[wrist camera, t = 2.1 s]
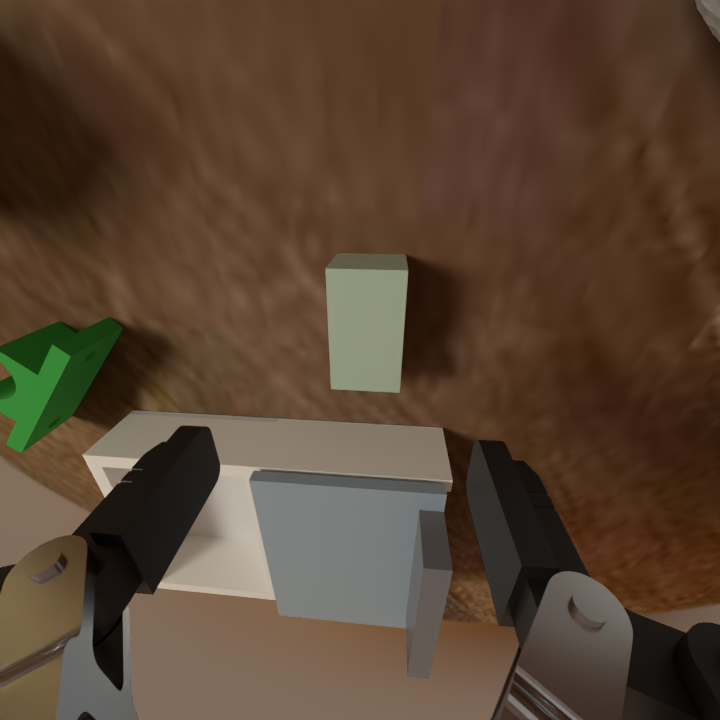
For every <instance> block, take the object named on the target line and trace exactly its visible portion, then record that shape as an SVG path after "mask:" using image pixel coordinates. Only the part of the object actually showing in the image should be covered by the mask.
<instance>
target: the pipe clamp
mask: <svg viewBox="0 0 720 720" xmlns="http://www.w3.org/2000/svg"><path fill="white" fill-rule="evenodd" d="M122 330H123V327H122V326H121V325H119V324H118V323H116V322H115V321H113V320H112V319H111V318H109V317H108V318H106V319H104V320H102V321H100V322H98V323H96V324H94V325H92V326H89V327H87V328H85V329H83V330H81V331H79V332H77V333H76V332H74V331H73V330H71V329H70V328H68V327H67V326H65V325H64V324H62V323H61V322H56V323H54V324H52V325H49V326H47V327H44V328H42V329H40V330H37V331H35V332H33V333H30V334H28V335H25V336H23V337H21V338H18V339H16V340H13V341H11V342H9V343H6V344H4V345H2V346H0V363H2V364H3V365H4V366H5V367H6V368H7V370H8V371H9V372H10V374H11V375H12V376H10V377H8V378H6V379H4V380H2V381H0V412H1V413H2V414H4V415H6V416H8V417H9V418H11V419H13V420H15V421H16V424H15V426H14V428H13V430H12V432H11V434H10V437H9V439H8V441H7V443H6V445H8V446H10V447H12V448H13V449H15V450H17V451H19V452H21V453H22V452H24V451H25V450H26V449H28V448H29V447H30V446H32V445H33V444H35V443H36V442H37V441H39V440H40V439H41V438H43V437H44V436H46V435H47V434H48V433H50V432H51V431H52V430H54V429H55V428H57V427H58V426H59V425H61V424H62V423H63V422H65V421H66V420H67V419H69V418H70V417H72V416H73V414H74V412H75V411H76V409H77V407H78V405H79V404H80V402H81V400H82V398H83V397H84V395H85V393H86V392H87V390H88V388H89V386H90V385H91V383H92V381H93V380H94V378H95V376H96V374H97V373H98V371H99V369H100V368H101V366H102V364H103V362H104V361H105V359H106V357H107V356H108V354H109V352H110V350H111V349H112V347H113V345H114V344H115V342H116V340H117V338H118V337H119V335H120V333H121V332H122Z"/></svg>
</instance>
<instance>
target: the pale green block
mask: <svg viewBox="0 0 720 720" xmlns="http://www.w3.org/2000/svg"><path fill="white" fill-rule="evenodd" d="M407 282H408V265H407V258H406V255H396V254H346V253H337V255H336V256H335V257H334V258H333V260H332V261H331V262H330V264H329V265H328V266H327V267H326V289H327V311H328V332H329V354H330V375H331V389H340V390H358V391H377V392H395V393H400V381H401V367H402V352H403V338H404V324H405V310H406V296H407Z"/></svg>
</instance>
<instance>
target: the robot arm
mask: <svg viewBox="0 0 720 720" xmlns="http://www.w3.org/2000/svg"><path fill="white" fill-rule="evenodd" d="M219 474H220V461H219V457H218V454H217V450H216V447H215V443H214V440H213V436H212V432H211V430H210V428H209V427H206V426H186V425H183V426H180V427H179V428H178V429H177V430H176V431H175V432H174V433H173V434H172V436H171V437H170V438H169V439H168V440H167V441H166V442H161V443H159V444H158V445H156V446H155V447H153V448H152V449H151V450H149V451H148V452H146V453H145V454H144V455H143V456H142V457H141V458H140V459H139V460H138V461H137V463H136V464H135V465H134V466H133V467H132V470H131V471H128V473H127V474H126V475H125V476H124V477H123V478H122V479H121V482H120V483H118V484H117V485H116V486H115V487H114V488H113V489H112V490H111V492H110V493H109V494H108V495H107V496H106V497H105V498H104V499H103V500H102V502H101V503H100V504H99V505H98V506H97V507H96V508H95V509H94V511H93V512H92V513H91V514H90V515H89V516H88V517H87V518H86V520H85V521H84V522H83V523H82V524H81V525H80V526H79V527H78V529H77V530H76V531H75V532H74V533H73V534H72V535H69V536H62V537H59V538H55V539H53V540H50V541H48V542H46V543H44V544H42V545H40V546H39V547H37V548H36V549H34V550H32V551H31V552H30V553H28V554H27V555H26V556H25V557H23V558H22V559H21V560H20V561H19V562H18V563H17V564H14V565H10V566H6V567H1V568H0V720H139V719H138V715H137V712H136V709H135V706H134V702H133V697H132V686H131V653H130V652H131V651H130V619H129V609H128V607H127V605H128V603H129V602H130V600H131V598H132V597H133V595H134V594H135V593H142V594H153V593H154V592H155V590H156V589H157V587H158V585H159V583H160V582H161V580H162V578H163V576H164V574H165V573H166V571H167V569H168V567H169V566H170V564H171V562H172V560H173V559H174V557H175V555H176V553H177V552H178V550H179V548H180V546H181V545H182V543H183V541H184V539H185V538H186V536H187V534H188V532H189V531H190V529H191V527H192V525H193V524H194V522H195V520H196V518H197V517H198V515H199V513H200V511H201V510H202V508H203V506H204V504H205V503H206V501H207V499H208V497H209V496H210V494H211V492H212V490H213V489H214V487H215V485H216V483H217V481H218V478H219ZM466 488H467V497H468V502H469V506H470V510H471V514H472V518H473V522H474V526H475V530H476V534H477V538H478V542H479V547H480V551H481V555H482V559H483V563H484V567H485V571H486V575H487V579H488V583H489V587H490V591H491V595H492V599H493V603H494V607H495V611H496V615H497V620H498V624H499V626H508V627H514V628H515V631H516V635H517V638H518V642H519V647H518V649H517V652H516V654H515V657H514V660H513V662H512V665H511V667H510V670H509V673H508V675H507V678H506V681H505V683H504V686H503V688H502V691H501V694H500V696H499V699H498V702H497V704H496V707H495V709H494V712H493V714H492V717H491V720H720V625H718V624H714V623H698V624H696V625H694V626H692V627H691V629H690V630H689V631H688V632H687V633H685V632H682V631H679V630H677V629H674V628H672V627H669V626H666V625H664V624H661V623H659V622H656V621H653V620H651V619H648V618H646V617H643V616H641V615H638V614H636V613H634V612H632V611H630V610H628V609H626V608H624V607H623V606H622V605H621V603H620V602H619V601H618V600H617V598H616V597H615V596H614V595H613V594H612V593H611V592H610V591H609V590H608V589H607V588H605V587H604V586H603V585H602V584H600V583H599V582H597V581H596V580H594V579H592V578H591V577H590V575H589V574H588V572H587V570H586V569H585V567H584V565H583V563H582V561H581V559H580V557H579V555H578V553H577V551H576V549H575V547H574V545H573V543H572V541H571V539H570V537H569V535H568V533H567V531H566V529H565V527H564V525H563V523H562V521H561V519H560V517H559V515H558V513H557V511H555V510H554V505H553V503H552V501H551V499H550V497H549V496H547V491H546V490H545V488H544V486H543V484H542V482H541V480H540V478H539V476H538V475H537V474H536V473H535V472H534V471H533V470H532V469H531V468H530V467H529V466H528V465H527V464H526V463H525V462H524V461H516V460H512V458H511V456H510V453H509V451H508V449H507V447H506V445H505V443H504V442H503V441H487V440H476V441H475V442H474V445H473V450H472V455H471V460H470V464H469V469H468V474H467V482H466Z"/></svg>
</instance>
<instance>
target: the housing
mask: <svg viewBox="0 0 720 720" xmlns="http://www.w3.org/2000/svg"><path fill="white" fill-rule="evenodd" d="M183 425H186V426H206V427H209V428H210V430H211V432H212V436H213V440H214V443H215V447H216V450H217V454H218V457H219V461H220V474H219V478H218V481H217V483H216V485H215V487H214V489H213V490H212V492H211V494H210V496H209V497H208V499H207V501H206V503H205V504H204V506H203V508H202V510H201V511H200V513H199V515H198V517H197V518H196V520H195V522H194V524H193V525H192V527H191V529H190V531H189V532H188V534H187V536H186V538H185V539H184V541H183V543H182V545H181V546H180V548H179V550H178V552H177V553H176V555H175V557H174V559H173V560H172V562H171V564H170V566H169V567H168V569H167V571H166V573H165V574H164V576H163V578H162V580H161V582H160V583H159V585H158V587H157V588H163V589H173V590H183V591H193V592H202V593H213V594H223V595H232V596H242V597H251V598H262V599H272V600H276V599H275V595H274V590H273V586H272V581H271V577H270V573H269V568H268V564H267V559H266V555H265V550H264V546H263V541H262V537H261V532H260V528H259V524H258V519H257V515H256V510H255V506H254V501H253V497H252V492H251V488H250V484H249V479H250V477H251V475H252V473H253V471H267V472H281V473H296V474H310V475H324V476H339V477H353V478H367V479H381V480H396V481H410V482H424V483H438V484H445V486H446V492H451V488H452V482H453V479H452V474H451V469H450V464H449V459H448V453H447V448H446V443H445V438H444V433H443V428H438V427H420V426H403V425H385V424H368V423H350V422H333V421H315V420H297V419H280V418H262V417H245V416H227V415H209V414H192V413H174V412H157V411H139V410H133V411H132V412H131V413H130V414H128V415H127V416H126V417H125V418H124V419H123V420H122V421H120V422H119V423H118V424H117V425H116V426H115V427H114V428H112V429H111V430H110V431H109V432H108V433H107V434H106V435H105V436H103V437H102V438H101V439H100V440H99V441H98V442H97V443H95V444H94V445H93V446H92V447H91V448H90V449H89V450H87V451H86V452H85V453H84V454H83V457H84V459H85V461H86V463H87V465H88V467H89V469H90V470H91V472H92V474H93V476H94V478H95V480H96V482H97V484H98V486H99V487H100V489H101V491H102V493H103V495H104V497H106V496H107V495H108V494H109V493H110V492H111V490H112V489H113V488H114V487H115V486H116V485H117V484H118V483H120V482H121V479H122V478H123V477H124V476H125V475H126V474H127V473H128V471H131V470H132V467H133V466H134V465H135V464H136V463H137V461H138V460H139V459H140V458H141V457H142V456H143V455H144V454H145V453H146V452H148V451H149V450H151V449H152V448H153V447H155V446H156V445H158V444H159V443H161V442H166V441H167V440H168V439H169V438H170V437H171V436H172V434H173V433H174V432H175V431H176V430H177V429H178V428H179V427H180V426H183Z"/></svg>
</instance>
